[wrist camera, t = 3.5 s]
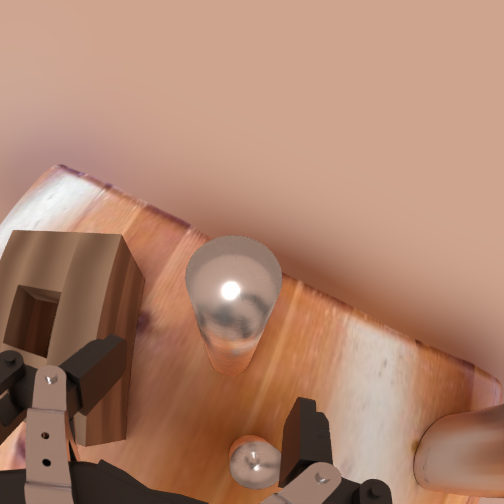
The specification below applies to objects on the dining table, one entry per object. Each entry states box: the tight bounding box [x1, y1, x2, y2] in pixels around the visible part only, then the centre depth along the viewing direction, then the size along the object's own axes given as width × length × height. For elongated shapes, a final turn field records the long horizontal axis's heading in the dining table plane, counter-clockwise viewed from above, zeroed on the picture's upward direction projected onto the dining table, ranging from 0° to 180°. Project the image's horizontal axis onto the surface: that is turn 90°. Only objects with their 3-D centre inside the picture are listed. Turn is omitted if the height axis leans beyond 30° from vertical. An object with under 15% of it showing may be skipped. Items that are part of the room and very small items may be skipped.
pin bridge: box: [0, 230, 145, 447], centre depth 19 cm, size 13×16×8 cm
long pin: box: [185, 235, 282, 376], centre depth 17 cm, size 4×4×16 cm
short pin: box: [229, 435, 281, 489], centre depth 17 cm, size 4×4×6 cm
